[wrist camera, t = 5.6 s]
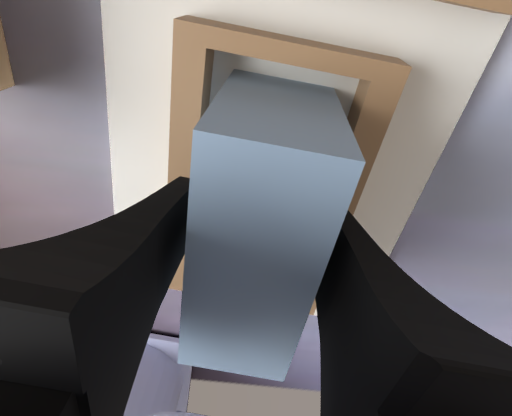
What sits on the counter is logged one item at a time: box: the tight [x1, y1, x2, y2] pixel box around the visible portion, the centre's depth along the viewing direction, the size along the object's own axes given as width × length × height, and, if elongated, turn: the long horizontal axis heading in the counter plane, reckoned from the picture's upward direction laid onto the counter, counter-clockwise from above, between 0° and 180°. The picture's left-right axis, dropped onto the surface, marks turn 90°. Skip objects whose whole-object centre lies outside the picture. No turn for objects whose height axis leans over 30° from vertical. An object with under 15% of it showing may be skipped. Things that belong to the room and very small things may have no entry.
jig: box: [100, 0, 512, 316], centre depth 12 cm, size 21×13×2 cm, turn 170°
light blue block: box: [178, 69, 366, 382], centre depth 12 cm, size 8×4×6 cm, turn 170°
